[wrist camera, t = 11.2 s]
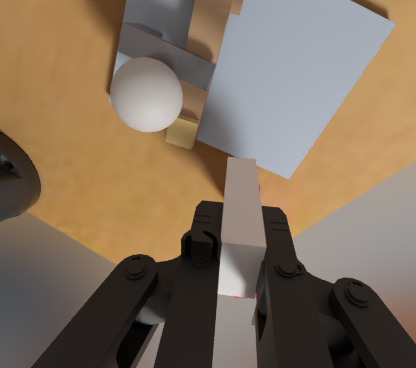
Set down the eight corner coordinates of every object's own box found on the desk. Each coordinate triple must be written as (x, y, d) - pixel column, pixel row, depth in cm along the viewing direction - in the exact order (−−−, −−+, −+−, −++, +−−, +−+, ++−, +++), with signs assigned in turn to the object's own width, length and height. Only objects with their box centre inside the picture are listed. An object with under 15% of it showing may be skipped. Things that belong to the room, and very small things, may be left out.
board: (113, 99, 31) (83, 115, 25) (149, -100, 21) (115, -146, 16) (287, 174, 33) (296, 204, 28) (389, 24, 24) (434, 22, 18)
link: (203, -70, 21) (195, -88, 18) (258, -52, 21) (260, -65, 18) (165, 128, 30) (156, 139, 27) (203, 140, 30) (199, 152, 27)
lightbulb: (159, 34, 26) (112, 44, 17) (208, 70, 28) (188, 97, 18) (136, 84, 29) (86, 115, 20) (180, 115, 31) (151, 156, 22)
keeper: (139, 47, 27) (117, 51, 23) (144, 23, 26) (122, 22, 21) (212, 81, 28) (206, 91, 24) (221, 59, 27) (216, 65, 22)
